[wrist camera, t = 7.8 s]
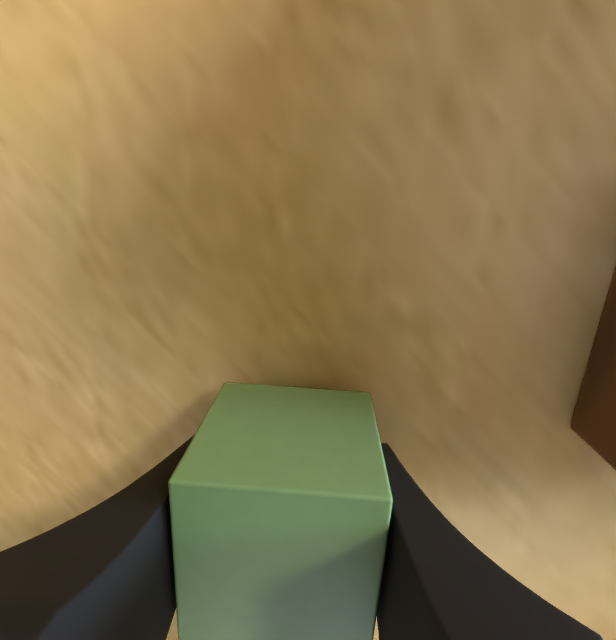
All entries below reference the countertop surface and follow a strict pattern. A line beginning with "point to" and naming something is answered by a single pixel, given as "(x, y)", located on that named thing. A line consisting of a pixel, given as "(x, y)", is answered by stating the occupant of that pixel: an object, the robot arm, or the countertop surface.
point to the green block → (280, 517)
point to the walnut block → (600, 388)
